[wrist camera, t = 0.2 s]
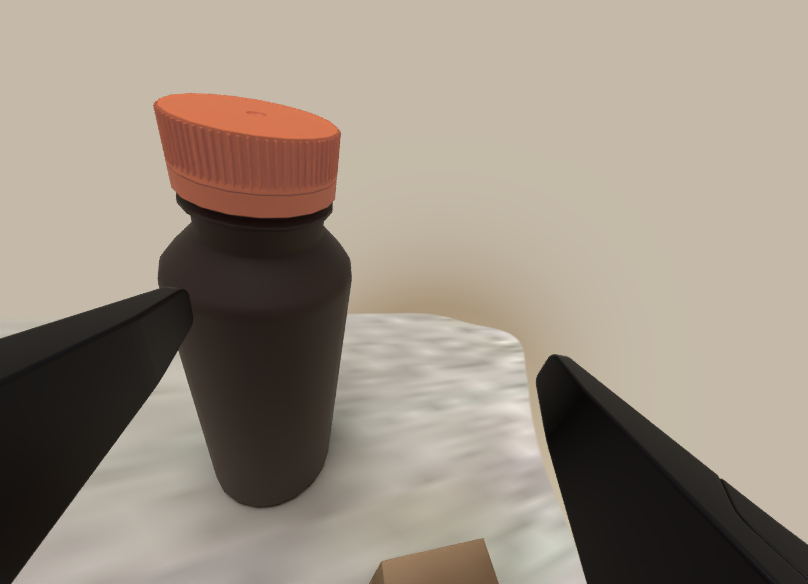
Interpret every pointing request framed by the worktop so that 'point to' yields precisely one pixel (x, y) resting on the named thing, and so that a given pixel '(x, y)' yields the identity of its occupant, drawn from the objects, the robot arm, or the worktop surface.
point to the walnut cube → (440, 566)
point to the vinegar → (257, 285)
